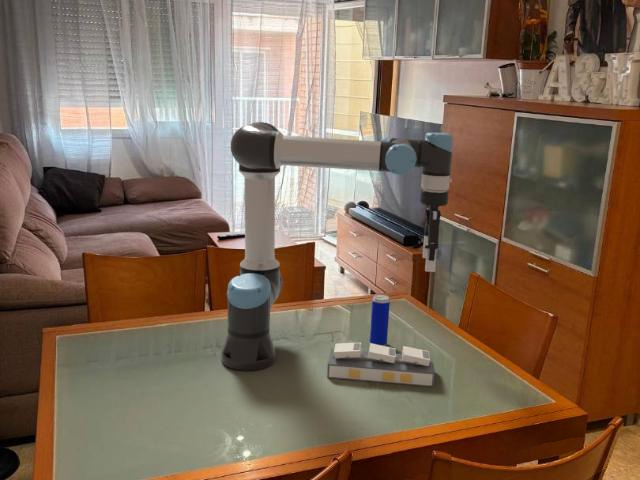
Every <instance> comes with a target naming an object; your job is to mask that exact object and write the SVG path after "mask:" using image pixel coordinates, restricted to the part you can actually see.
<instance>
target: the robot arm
mask: <svg viewBox="0 0 640 480" xmlns="http://www.w3.org/2000/svg"><path fill="white" fill-rule="evenodd" d="M453 147H454V137H453V135H451V134H450V133H448V132H447V133H445V132H426V133H425V136H424V138H423V139H411V138H409V139H408V138H397V137H389V138H388V137H386V138H385V137H384V138H382V139H381V140H380V141H376V140H363V139H362V140H361V139H358V140H357V139H343V138H341V139H340V138H328V137H313V136H312V137H310V136H295V135H285V134H283V133H282V132H281V131H280V130H279V129H278V128H277V127H276V126H275V125H273V124H272V123H268V122H263V121H255V122H253V123H250V124H246V125H244V126H241V127H240V128H238V129H237V130H236V131H235V132H234V134H233V135H232V137H231V140H230V153H231V155H232V157H233V159H234V161H236V162H237V164H238V171H239V172H240V174H242V176H243V177H244V259H243V260H241V261H240V263H239V275H236V276H234V277H232V278H231V279H230V281H229V282H228V284H227V290H226V297H227V333H226V338H225V340H224V343H223V346H222V349H221V352H220V355H221V357H220V360H221V363H222V364H223V365H225V366H226V367H227V368H229V369H233V370H235V371H244V372H245V371H247V372H248V371H260V370H263V369H266V368H268V367H270V366H272V365H273V364H274V363H275V361H276V355H277V354H276V347H275V345H274V343H273V340H272V337H271V333H270V332H271V331H270V328H271V325H270V324H271V309H272V307H273V305H274V304H275V302H276V300H277V299H278V298H279V297H280V295H281V292H282V288H283V277H282V275H281V272H280V271H281V270H280V267H281V265H280V264H281V263H280V261H278V260H277V259H276V257H275V254H276V253H275V250H276V249H275V248H276V247H275V240H276V239H275V238H276V235H275V232H276V230H275V229H276V227H275V225H276V224H275V223H276V222H275V221H276V219H275V218H276V216H275V215H276V213H275V212H276V209H275V208H276V202H275V201H276V199H275V198H276V195H275V194H276V177H277V176H278V174H280V173H281V167H282V166H290V167H291V166H293V167H305V168H306V167H307V168H308V167H309V168H323V169H337V170H338V169H339V170H352V171H353V170H357V171H369V172H371V171H373V172H383V173H392V174H394V175H397V176H401V175H402V176H403V175H406V174H409V173H410V172H411V171H412V170H413V169H414V168H417V169H418V168H422V173H421V185H420V187H421V189H422V190H420V198H419V202H420V203H421V205H424V206H426V209H425V212H424V213H425V214H424V215H425V217H424V218H425V219H424V220H425V223H424V229H423V231H424V233H423V234H424V236H423V248H422V258H423V259H425V265H424V271H425V272H431V273H435V272H436V266H437V255H438V254H437V253H438V249H439V231H440V224H441V223H440V221H441V216H442V212H441V210H440V209H439V207H445V206H447V205H448V203H449V191H448V190H449V189H450V183H452V182H453V179H452V178H451V169H452V163H453V162H452V160H453V152H454V151H453Z"/></svg>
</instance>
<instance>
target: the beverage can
mask: <svg viewBox="0 0 640 480" xmlns="http://www.w3.org/2000/svg"><path fill="white" fill-rule="evenodd" d="M371 301H372V303H371V316H370V317H371V319H370V336H369V344H370V343H372V344H377V345H381V346H386V345H388V331H389V319H390V317H389V316H390V302H391V300H390V297H389V296H388V295H385V294H375V295H373V297H372V300H371Z"/></svg>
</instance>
